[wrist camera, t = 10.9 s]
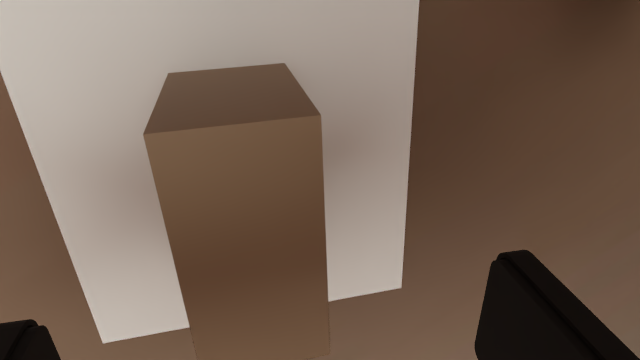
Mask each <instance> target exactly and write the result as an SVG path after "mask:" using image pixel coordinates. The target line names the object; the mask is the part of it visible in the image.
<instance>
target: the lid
mask: <svg viewBox="0 0 640 360" xmlns="http://www.w3.org/2000/svg"><path fill="white" fill-rule="evenodd" d="M418 12H419V0H0V71H1V74H2V77H3V79H4V82H5V85H6V87H7V90H8V93H9V95H10V98H11V101H12V103H13V106H14V109H15V111H16V114H17V117H18V119H19V122H20V124H21V127H22V130H23V132H24V135H25V138H26V140H27V143H28V146H29V148H30V151H31V154H32V156H33V159H34V162H35V164H36V167H37V170H38V172H39V175H40V178H41V180H42V183H43V186H44V188H45V191H46V193H47V196H48V199H49V201H50V204H51V207H52V209H53V212H54V215H55V217H56V220H57V223H58V225H59V228H60V231H61V233H62V236H63V239H64V241H65V244H66V247H67V249H68V252H69V254H70V257H71V260H72V262H73V265H74V268H75V270H76V273H77V276H78V278H79V281H80V284H81V286H82V289H83V292H84V294H85V297H86V300H87V302H88V305H89V308H90V310H91V313H92V316H93V318H94V321H95V323H96V326H97V329H98V331H99V334H100V337H101V339H102V342H103V343H108V342H113V341H118V340H124V339H129V338H134V337H140V336H145V335H151V334H156V333H161V332H167V331H172V330H177V329H183V328H188V327H190V331H191V335H192V339H193V343H194V347H195V351H196V355H197V360H305V359H310V358H314V357H319V356H324V355H329V354H330V330H329V304H328V301H333V300H339V299H344V298H349V297H355V296H360V295H366V294H371V293H376V292H382V291H387V290H392V289H398V288H401V285H402V269H403V253H404V237H405V221H406V205H407V189H408V172H409V156H410V140H411V124H412V108H413V92H414V76H415V60H416V44H417V28H418Z"/></svg>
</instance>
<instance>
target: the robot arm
mask: <svg viewBox="0 0 640 360" xmlns="http://www.w3.org/2000/svg"><path fill="white" fill-rule="evenodd" d="M475 352H476V355H477V358H478V360H640V359H639V358H638V357H637V356H636V355H635V354H634V353H633V352H632V351H631V350H630V349H629V348H628V347H627V346H626V345H625V344H624V343H623V342H622V341H621V340H620V339H619V338H617V337H616V336H615V335H614V334H613V333H612V332H611V331H610V330H609V329H608V328H607V327H606V326H605V325H604V324H603V323H602V322H601V321H600V320H599V319H598V318H597V317H596V316H595V315H594V314H593V313H592V312H591V311H590V310H589V309H588V308H587V307H586V306H585V305H584V304H583V303H582V302H581V301H580V300H579V299H578V298H577V297H576V296H575V295H574V294H573V293H572V292H571V291H570V290H569V289H568V288H567V287H566V286H564V285H563V284H562V283H561V282H560V281H559V280H558V279H557V278H556V277H555V276H554V275H553V274H552V273H551V272H550V271H549V270H548V269H547V268H546V267H545V266H544V265H543V264H542V263H541V262H540V261H539V260H538V259H537V258H536V257H535V256H534V255H533V254H532V253H531V252H529V251H527V250H519V251H512V252H505V253H500V254H499V255H498V257H497V259H496V260H495V261H493V262H492V263H491V267H490V272H489V276H488V281H487V286H486V291H485V296H484V301H483V306H482V310H481V315H480V320H479V325H478V330H477V335H476V340H475ZM0 360H61V359H60V357H59V354H58V352H57V350H56V347H55V345H54V343H53V341H52V338H51V336H50V334H49V331H48V329H47V328H46V327H45V326H44V325H42V326H38V324H37V323H36V321H34V320H33V319H29V320H22V321H15V322H8V323H0Z"/></svg>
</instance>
